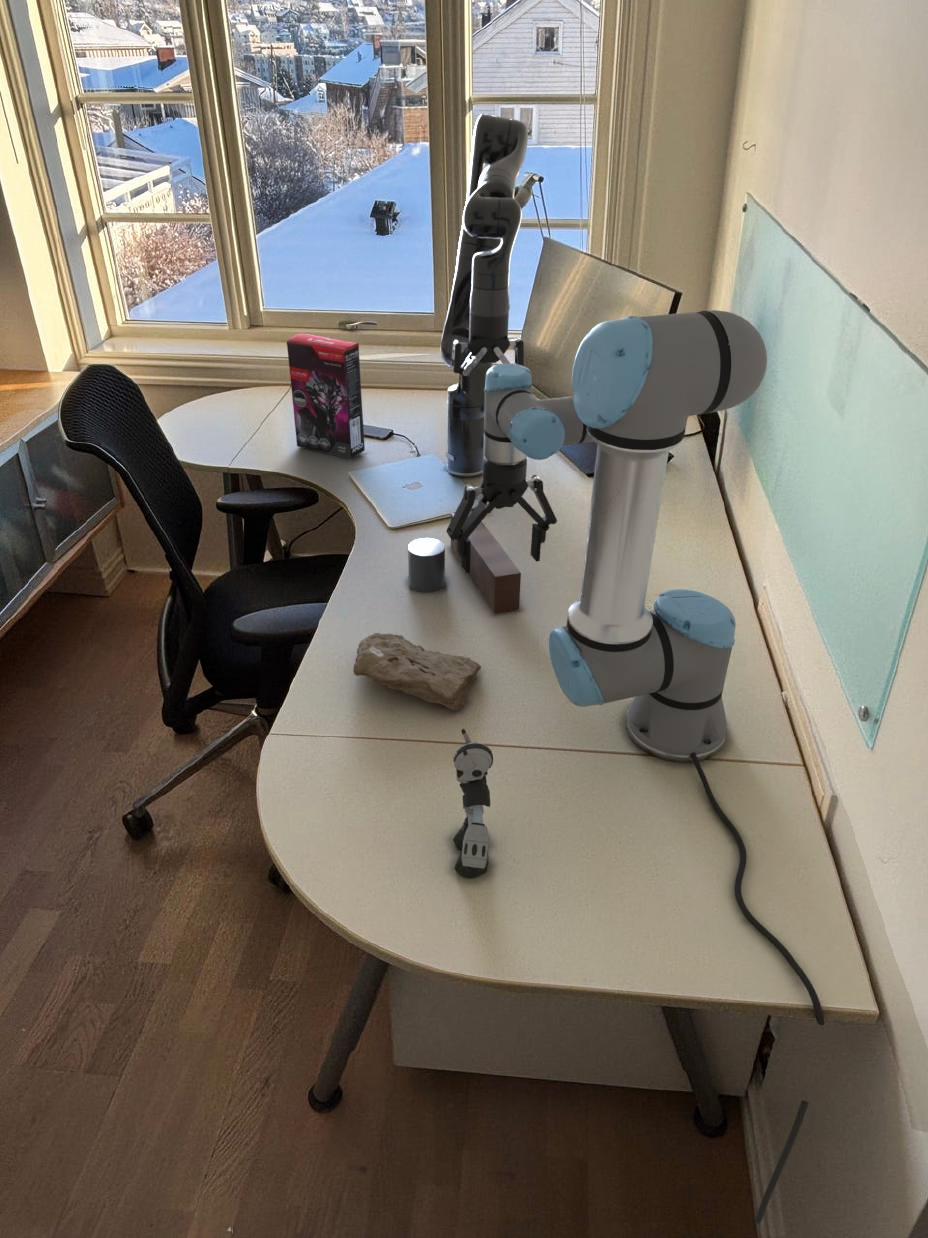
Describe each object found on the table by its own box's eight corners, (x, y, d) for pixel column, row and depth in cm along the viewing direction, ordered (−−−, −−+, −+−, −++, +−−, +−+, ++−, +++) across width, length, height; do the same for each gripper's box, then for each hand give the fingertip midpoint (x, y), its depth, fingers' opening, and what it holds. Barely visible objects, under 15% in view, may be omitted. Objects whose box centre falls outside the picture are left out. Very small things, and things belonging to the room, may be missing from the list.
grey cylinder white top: (439, 594, 175) (438, 558, 171) (404, 589, 177) (402, 553, 172) (449, 576, 181) (449, 540, 177) (415, 571, 182) (414, 535, 178)
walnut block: (519, 609, 171) (521, 572, 167) (494, 614, 170) (495, 577, 165) (473, 544, 192) (474, 509, 187) (450, 548, 190) (450, 513, 186)
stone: (328, 683, 147) (335, 650, 144) (363, 649, 160) (369, 618, 158) (451, 727, 143) (460, 694, 141) (476, 689, 157) (485, 658, 154)
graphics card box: (294, 447, 232) (283, 339, 217) (310, 437, 237) (301, 331, 222) (351, 461, 225) (344, 350, 210) (367, 450, 230) (361, 342, 215)
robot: (495, 914, 114) (500, 797, 103) (456, 915, 114) (456, 798, 103) (484, 799, 130) (487, 688, 119) (450, 801, 130) (450, 689, 119)
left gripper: (520, 303, 182) (516, 383, 190) (449, 305, 179) (448, 387, 188) (530, 313, 175) (525, 396, 184) (456, 316, 173) (455, 399, 182)
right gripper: (563, 439, 163) (555, 543, 175) (428, 456, 156) (429, 563, 169) (581, 456, 157) (571, 563, 169) (442, 475, 151) (442, 585, 163)
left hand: (486, 391), depth 186 cm, fingers open, 8 cm apart
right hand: (500, 563), depth 169 cm, fingers open, 13 cm apart
